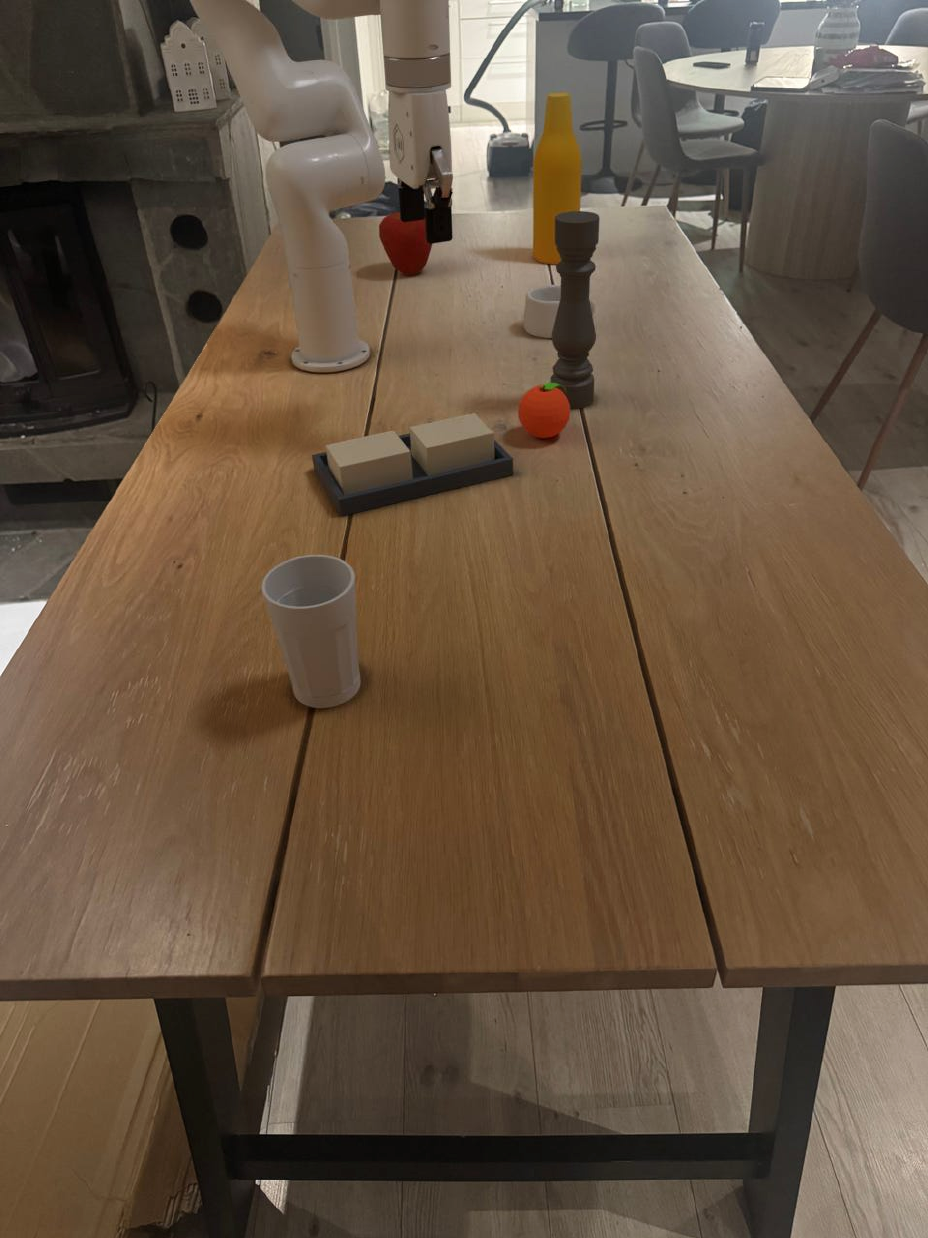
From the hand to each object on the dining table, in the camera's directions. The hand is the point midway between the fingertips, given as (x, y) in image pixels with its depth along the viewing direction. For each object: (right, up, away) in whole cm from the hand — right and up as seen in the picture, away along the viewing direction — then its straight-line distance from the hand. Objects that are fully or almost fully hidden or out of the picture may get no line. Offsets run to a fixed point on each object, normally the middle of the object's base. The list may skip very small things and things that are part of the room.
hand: (425, 230), depth 115 cm
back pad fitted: (-7, -30, +1) cm, 31 cm away
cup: (-8, -55, -28) cm, 62 cm away
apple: (-6, +20, +68) cm, 71 cm away
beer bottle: (+23, +24, +71) cm, 79 cm away
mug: (+21, 0, +41) cm, 46 cm away
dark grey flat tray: (-2, -30, +3) cm, 30 cm away
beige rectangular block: (+3, -28, +4) cm, 28 cm away
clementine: (+16, -23, +10) cm, 30 cm away
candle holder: (+20, -17, +18) cm, 32 cm away
